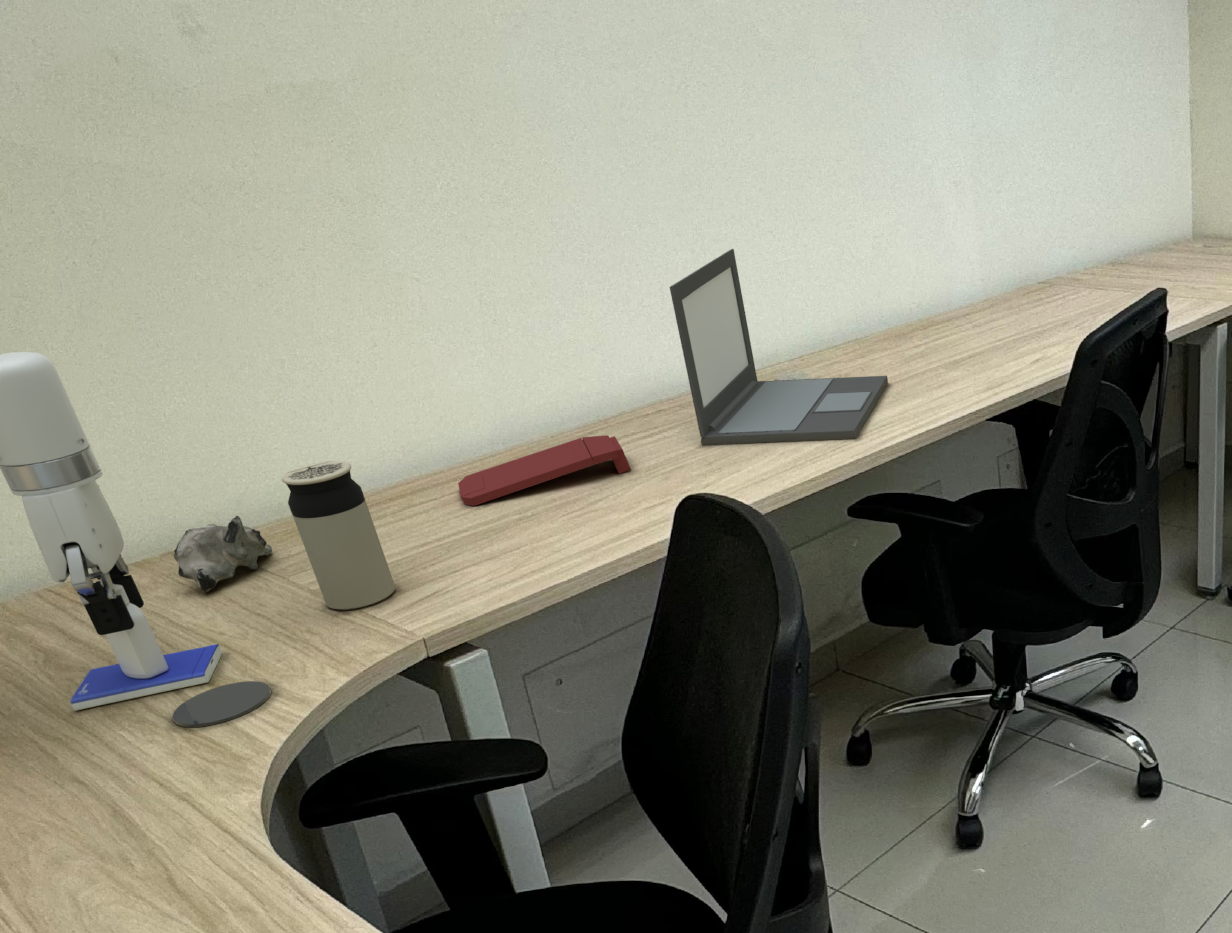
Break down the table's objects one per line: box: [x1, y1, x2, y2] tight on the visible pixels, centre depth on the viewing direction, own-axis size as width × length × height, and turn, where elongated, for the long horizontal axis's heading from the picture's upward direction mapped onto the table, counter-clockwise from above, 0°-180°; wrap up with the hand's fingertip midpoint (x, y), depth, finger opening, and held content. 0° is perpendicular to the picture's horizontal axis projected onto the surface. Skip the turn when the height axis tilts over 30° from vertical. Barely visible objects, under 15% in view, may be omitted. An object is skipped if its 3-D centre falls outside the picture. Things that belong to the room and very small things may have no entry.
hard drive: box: [70, 643, 223, 711], centre depth 133 cm, size 2×8×12 cm
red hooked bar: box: [457, 434, 632, 506], centre depth 190 cm, size 12×5×25 cm
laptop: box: [669, 248, 889, 446], centre depth 213 cm, size 35×28×28 cm
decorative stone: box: [173, 515, 273, 593], centre depth 159 cm, size 16×9×10 cm, turn 23°
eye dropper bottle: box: [99, 578, 168, 679], centre depth 130 cm, size 4×6×12 cm
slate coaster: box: [172, 680, 272, 728], centre depth 128 cm, size 9×9×1 cm
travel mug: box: [281, 460, 396, 611], centre depth 148 cm, size 8×8×18 cm
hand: (121, 618), depth 130 cm, fingers closed on eye dropper bottle, 5 cm apart
